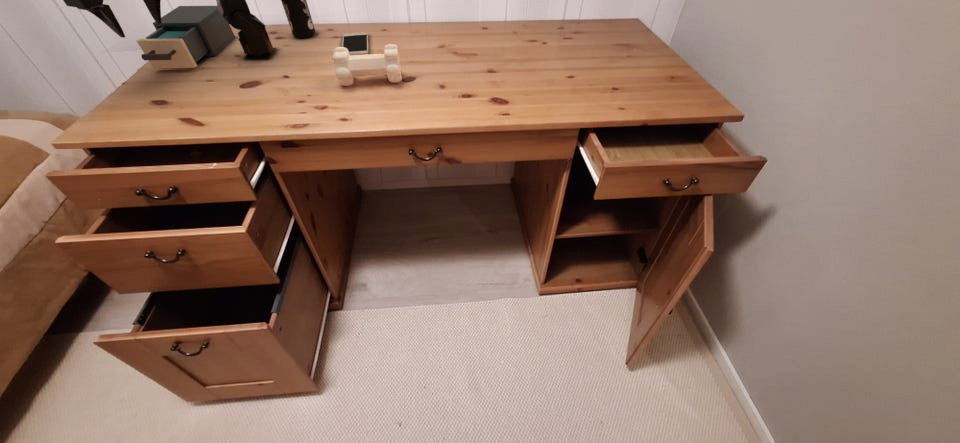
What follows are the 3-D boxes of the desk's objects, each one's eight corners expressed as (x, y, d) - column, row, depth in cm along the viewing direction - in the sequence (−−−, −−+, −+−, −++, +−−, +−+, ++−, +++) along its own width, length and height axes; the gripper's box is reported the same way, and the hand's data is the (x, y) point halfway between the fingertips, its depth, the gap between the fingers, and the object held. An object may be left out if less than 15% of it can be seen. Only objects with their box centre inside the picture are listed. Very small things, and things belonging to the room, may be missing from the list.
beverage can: (309, 40, 112) (295, -6, 103) (289, 38, 113) (273, -8, 104) (320, 32, 116) (307, -13, 107) (300, 30, 117) (286, -14, 108)
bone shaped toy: (402, 71, 98) (397, 39, 92) (402, 87, 92) (397, 53, 86) (342, 75, 96) (333, 42, 90) (339, 91, 90) (329, 57, 84)
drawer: (187, 75, 94) (171, 47, 89) (144, 75, 93) (125, 47, 88) (216, 48, 105) (203, 22, 100) (178, 48, 105) (163, 22, 100)
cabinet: (215, 56, 103) (198, 22, 97) (171, 56, 103) (152, 23, 97) (235, 37, 113) (221, 5, 107) (195, 37, 112) (179, 5, 106)
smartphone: (368, 34, 114) (367, 31, 114) (368, 55, 104) (367, 52, 103) (343, 36, 113) (343, 33, 113) (341, 58, 103) (341, 54, 102)
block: (196, 50, 101) (186, 31, 97) (187, 58, 98) (176, 38, 94) (177, 51, 101) (166, 31, 97) (167, 59, 97) (156, 38, 94)
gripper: (107, -64, 83) (150, 13, 95) (11, -46, 71) (75, 40, 82) (145, -60, 81) (185, 18, 92) (53, -41, 69) (113, 47, 80)
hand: (141, 30), depth 87 cm, fingers open, 9 cm apart
